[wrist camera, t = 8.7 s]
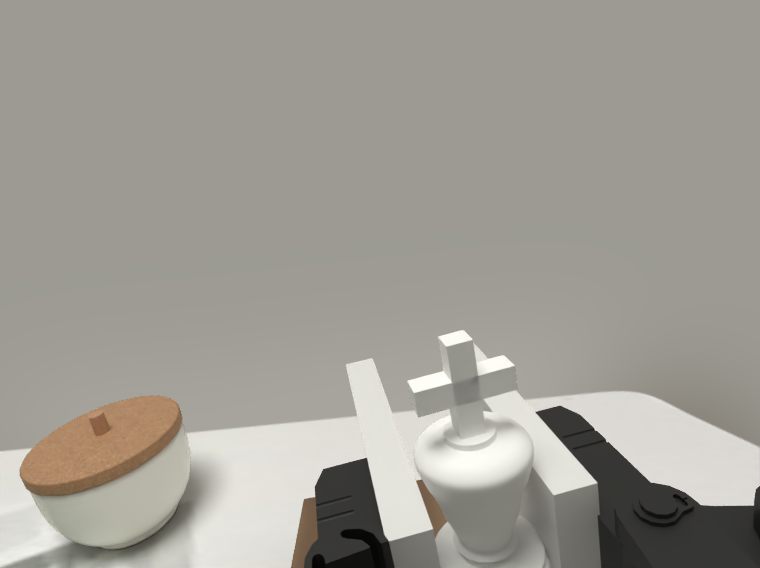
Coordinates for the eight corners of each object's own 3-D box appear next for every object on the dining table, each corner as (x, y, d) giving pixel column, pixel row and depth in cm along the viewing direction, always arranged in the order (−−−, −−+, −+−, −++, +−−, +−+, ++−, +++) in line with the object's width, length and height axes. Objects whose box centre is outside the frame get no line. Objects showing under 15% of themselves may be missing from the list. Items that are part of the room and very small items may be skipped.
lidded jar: (91, 605, 32) (34, 483, 29) (41, 538, 39) (-9, 435, 37) (233, 498, 40) (198, 393, 37) (169, 458, 47) (136, 367, 44)
